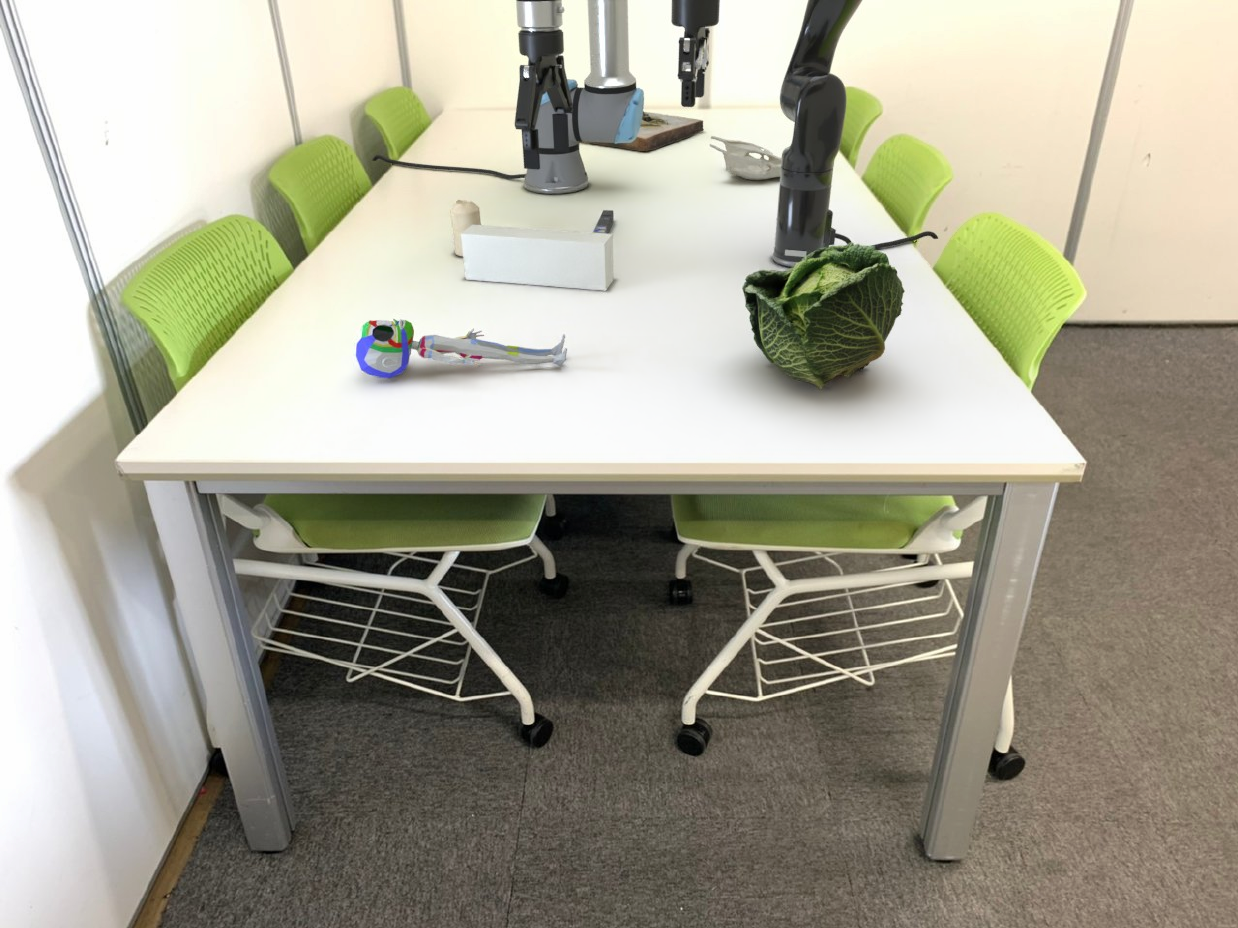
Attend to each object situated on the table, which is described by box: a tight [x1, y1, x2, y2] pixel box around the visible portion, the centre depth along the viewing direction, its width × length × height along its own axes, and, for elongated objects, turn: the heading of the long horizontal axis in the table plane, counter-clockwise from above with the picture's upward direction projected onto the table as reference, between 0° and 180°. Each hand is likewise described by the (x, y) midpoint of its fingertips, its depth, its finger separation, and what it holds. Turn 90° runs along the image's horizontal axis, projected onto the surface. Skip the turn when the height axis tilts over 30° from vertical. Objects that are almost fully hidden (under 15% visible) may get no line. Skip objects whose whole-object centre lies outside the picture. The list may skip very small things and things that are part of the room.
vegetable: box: [742, 241, 906, 390], centre depth 125 cm, size 20×19×20 cm
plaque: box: [584, 110, 705, 152], centre depth 257 cm, size 30×7×30 cm
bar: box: [461, 224, 614, 292], centre depth 160 cm, size 26×5×8 cm, turn 76°
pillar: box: [592, 209, 615, 234], centre depth 182 cm, size 2×2×20 cm
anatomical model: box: [709, 135, 782, 181], centre depth 217 cm, size 15×9×25 cm
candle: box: [449, 199, 482, 257], centre depth 172 cm, size 6×6×10 cm
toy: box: [353, 318, 568, 379], centre depth 130 cm, size 10×8×30 cm
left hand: (547, 160), depth 161 cm, fingers open, 13 cm apart
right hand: (692, 101), depth 148 cm, fingers open, 8 cm apart
